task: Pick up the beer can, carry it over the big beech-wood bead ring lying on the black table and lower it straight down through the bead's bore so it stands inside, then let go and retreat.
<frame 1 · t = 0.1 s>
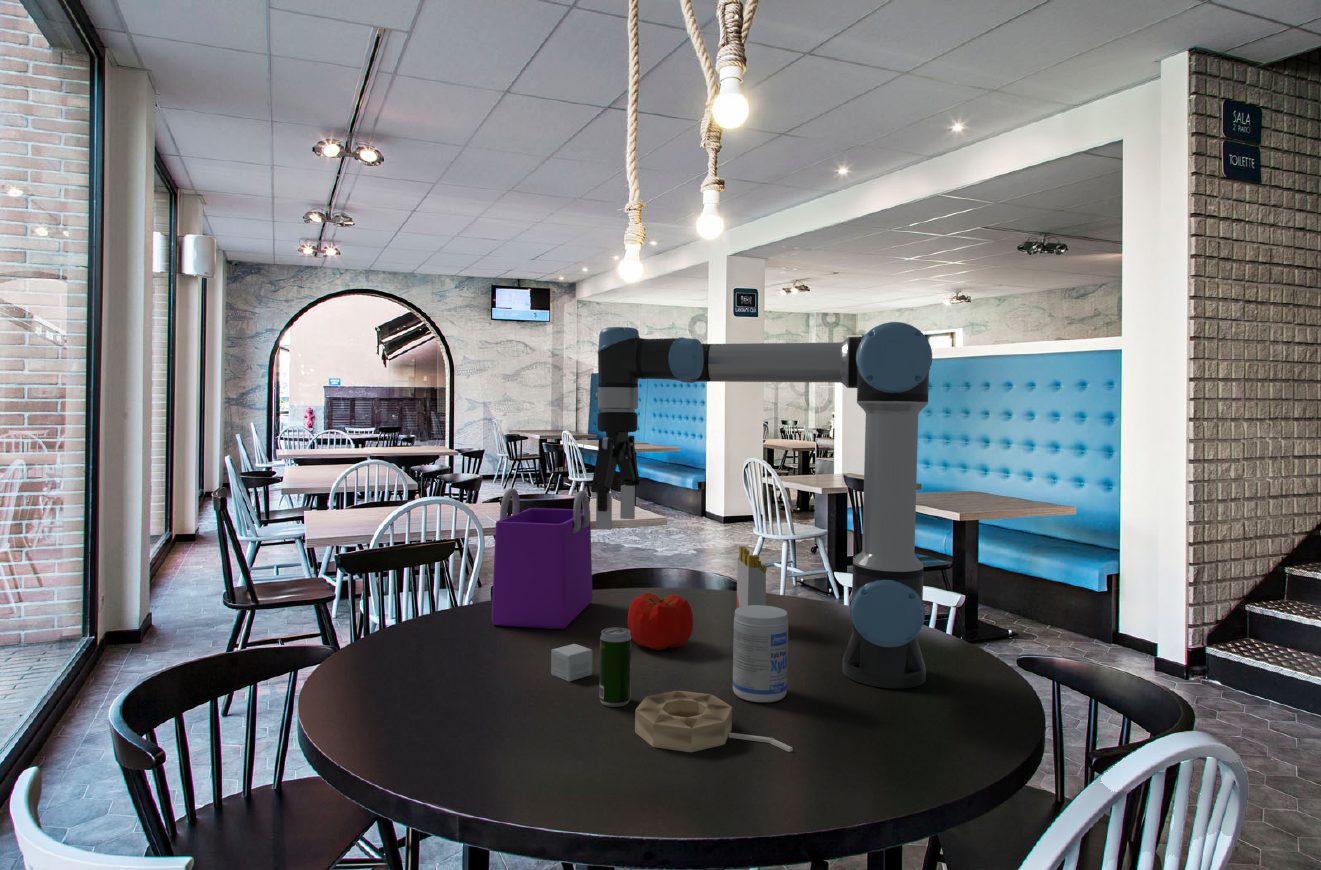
hand: (616, 523, 146), 28 cm above the table, fingers open, 13 cm apart
beer can: (615, 702, 132), on the table
shopping bag: (544, 614, 186), on the table
small box: (571, 676, 145), on the table
tomato: (660, 646, 163), on the table
bead ring: (683, 730, 120), on the table
supplement tub: (759, 695, 136), on the table
drinking straw: (751, 739, 117), on the table
french fries container: (751, 627, 178), on the table
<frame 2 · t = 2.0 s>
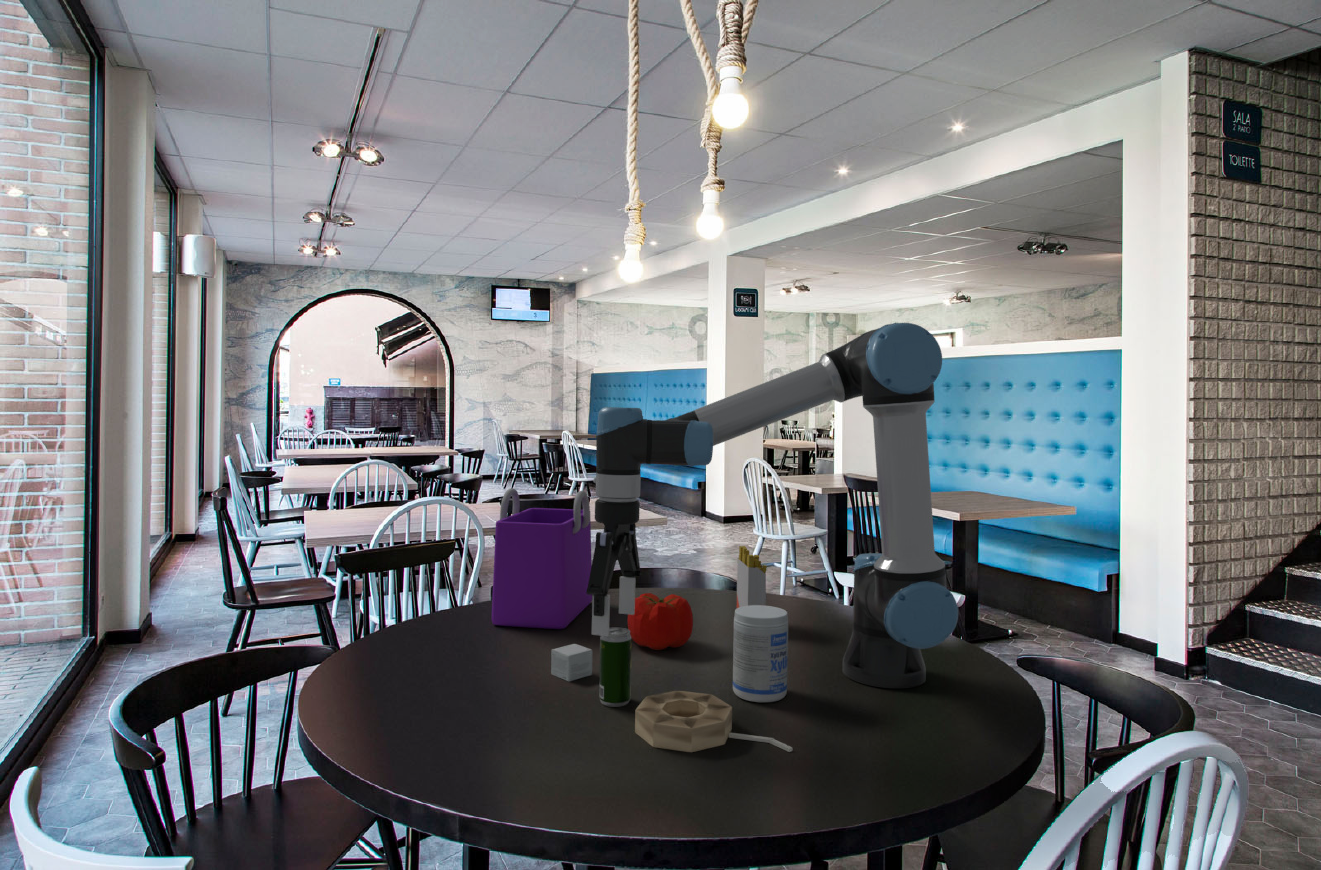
hand: (614, 623, 131), 13 cm above the table, fingers open, 13 cm apart
nothing on the table moved.
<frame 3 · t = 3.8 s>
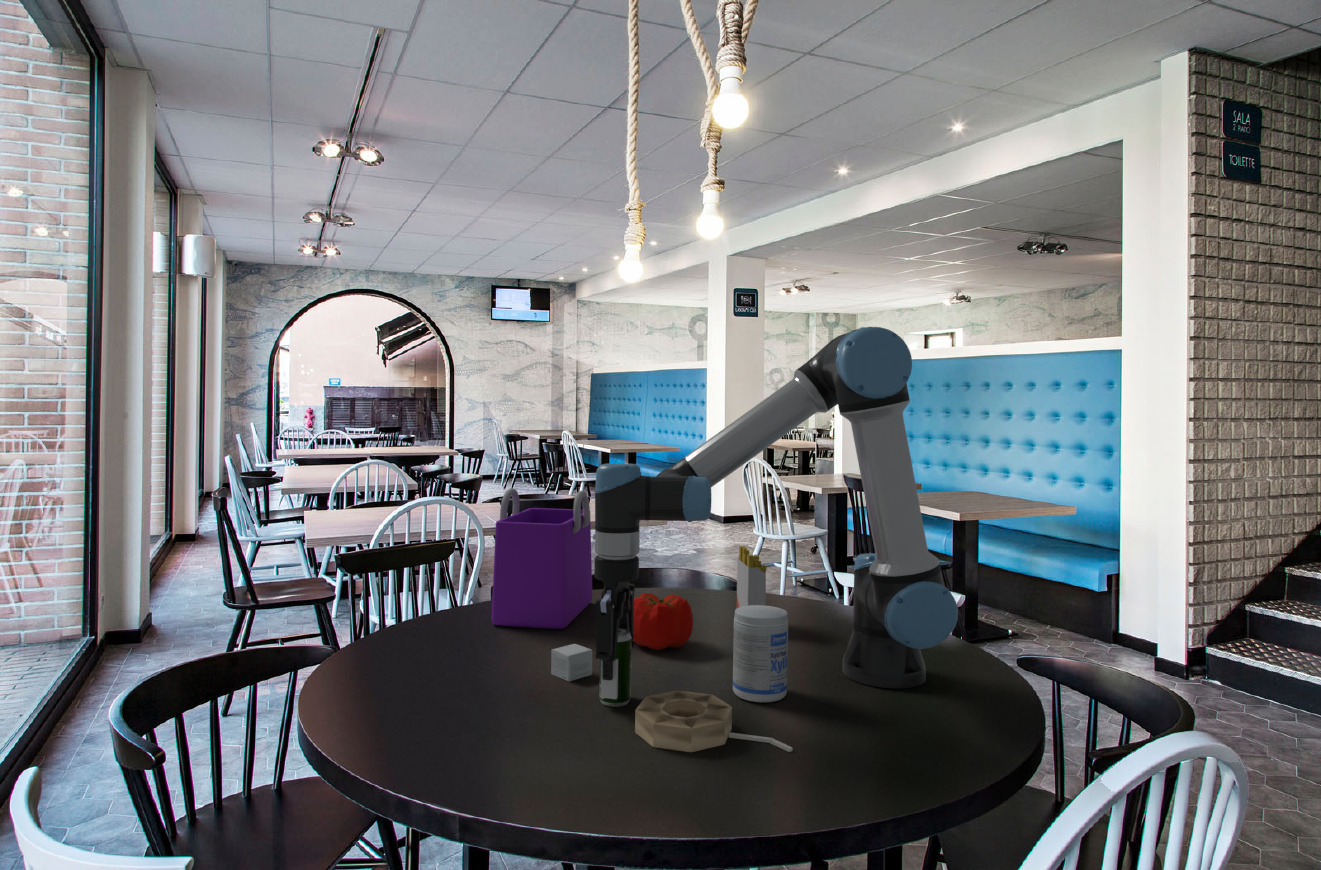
hand: (615, 690, 132), 2 cm above the table, fingers closed on beer can, 5 cm apart
beer can: (615, 702, 132), on the table, touching gripper
everything else where it was.
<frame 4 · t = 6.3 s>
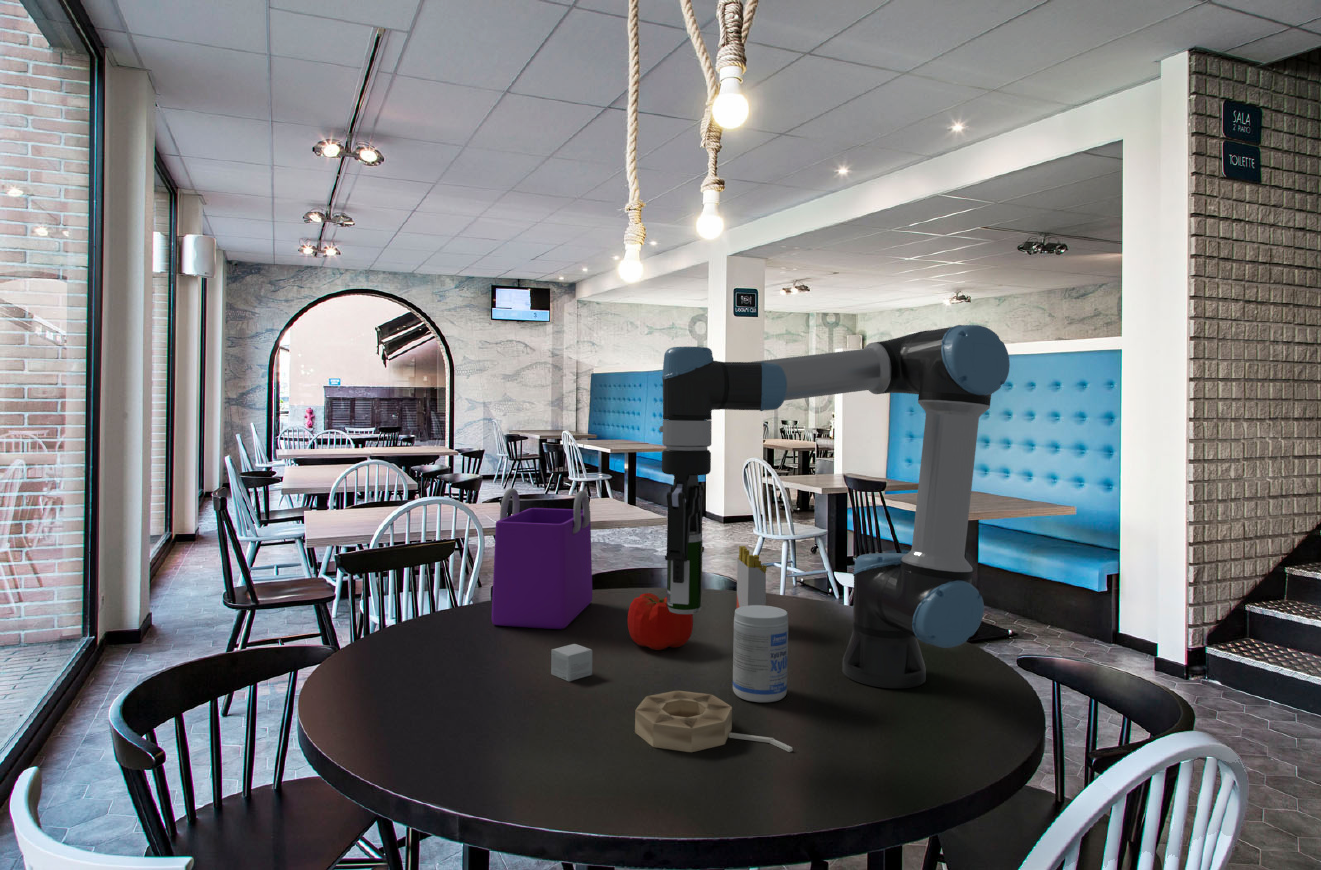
hand: (684, 598, 120), 21 cm above the table, fingers closed on beer can, 5 cm apart
beer can: (684, 611, 120), point 19 cm above the table, touching gripper
everything else where it was.
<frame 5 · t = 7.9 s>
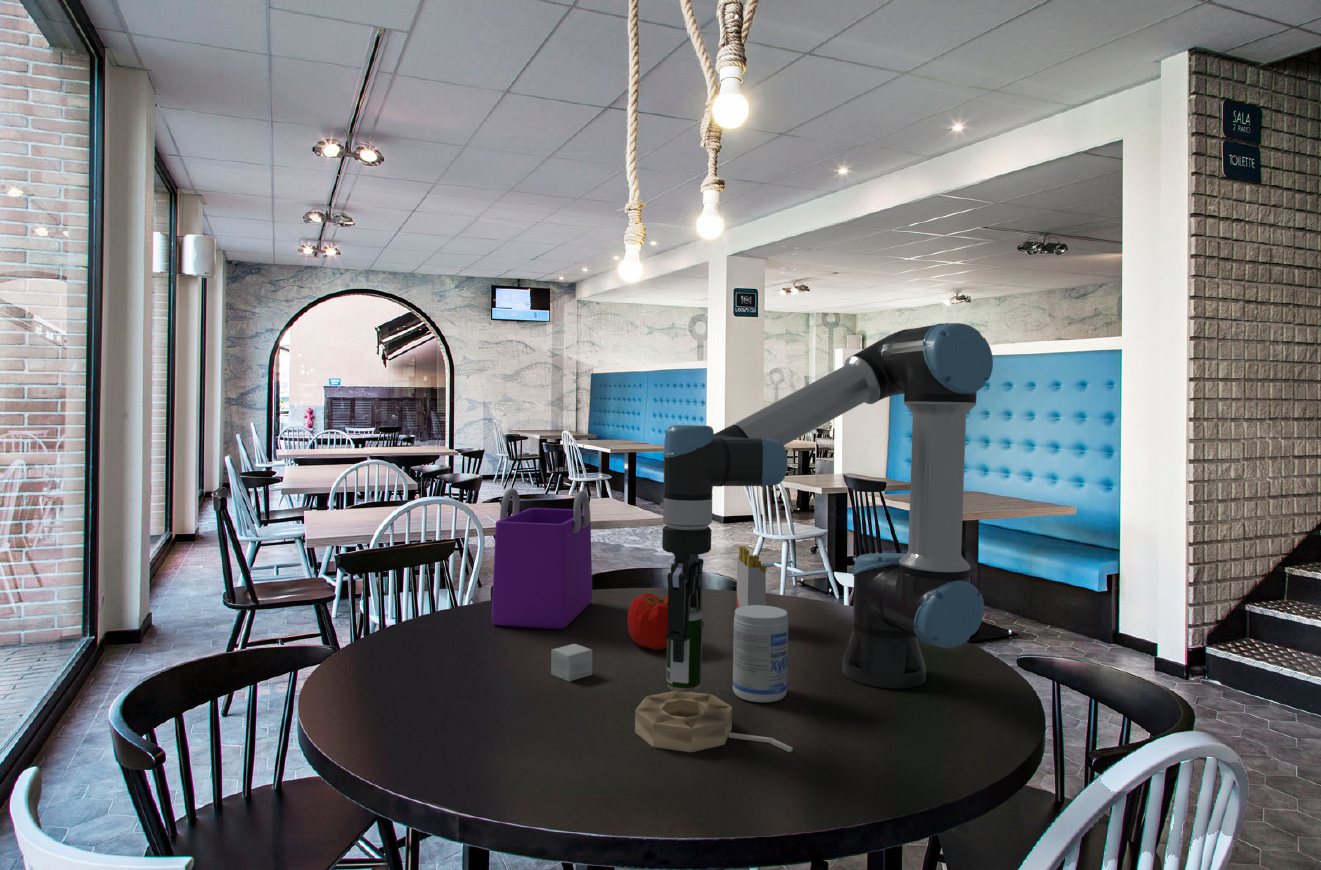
hand: (684, 674, 120), 9 cm above the table, fingers closed on beer can, 5 cm apart
beer can: (683, 687, 120), point 7 cm above the table, touching gripper
everything else where it was.
when the fingers open (5 cm above the table, at t = 9.0 s): beer can drops 3 cm, resting in bead ring.
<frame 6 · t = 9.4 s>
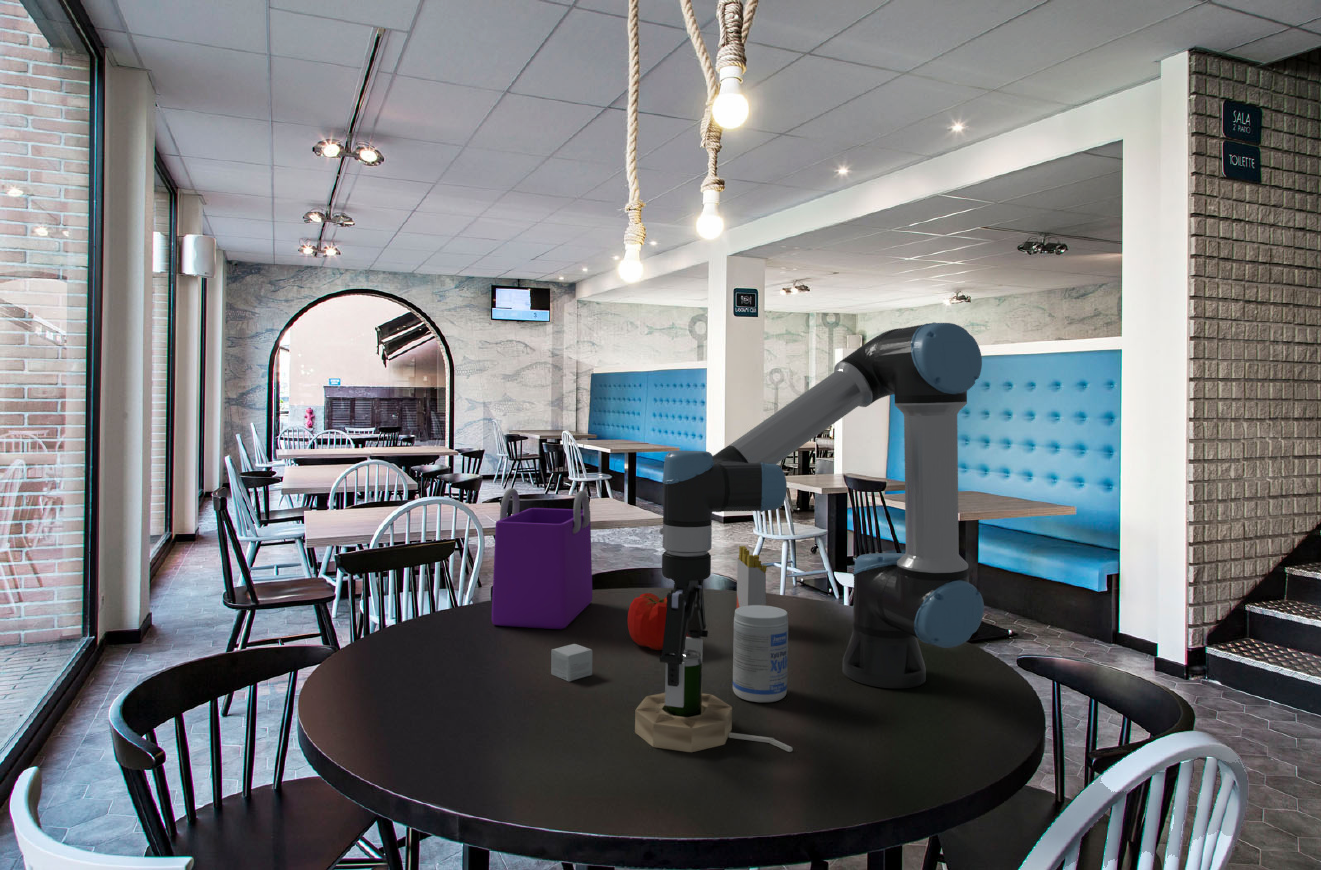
hand: (684, 691, 120), 6 cm above the table, fingers open, 11 cm apart
beer can: (683, 731, 120), resting in bead ring
everything else where it was.
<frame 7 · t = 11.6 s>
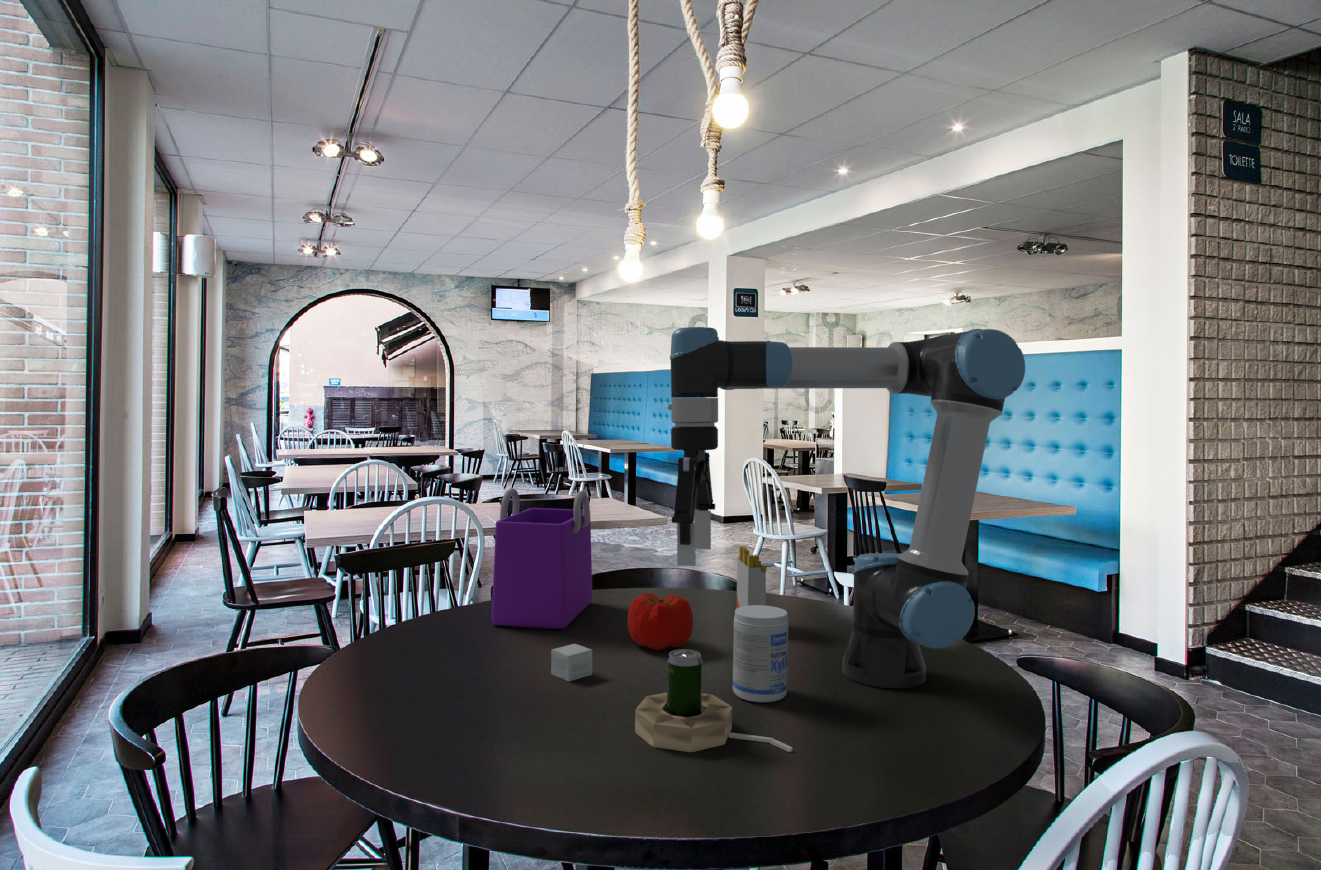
hand: (695, 556, 125), 26 cm above the table, fingers open, 13 cm apart
nothing on the table moved.
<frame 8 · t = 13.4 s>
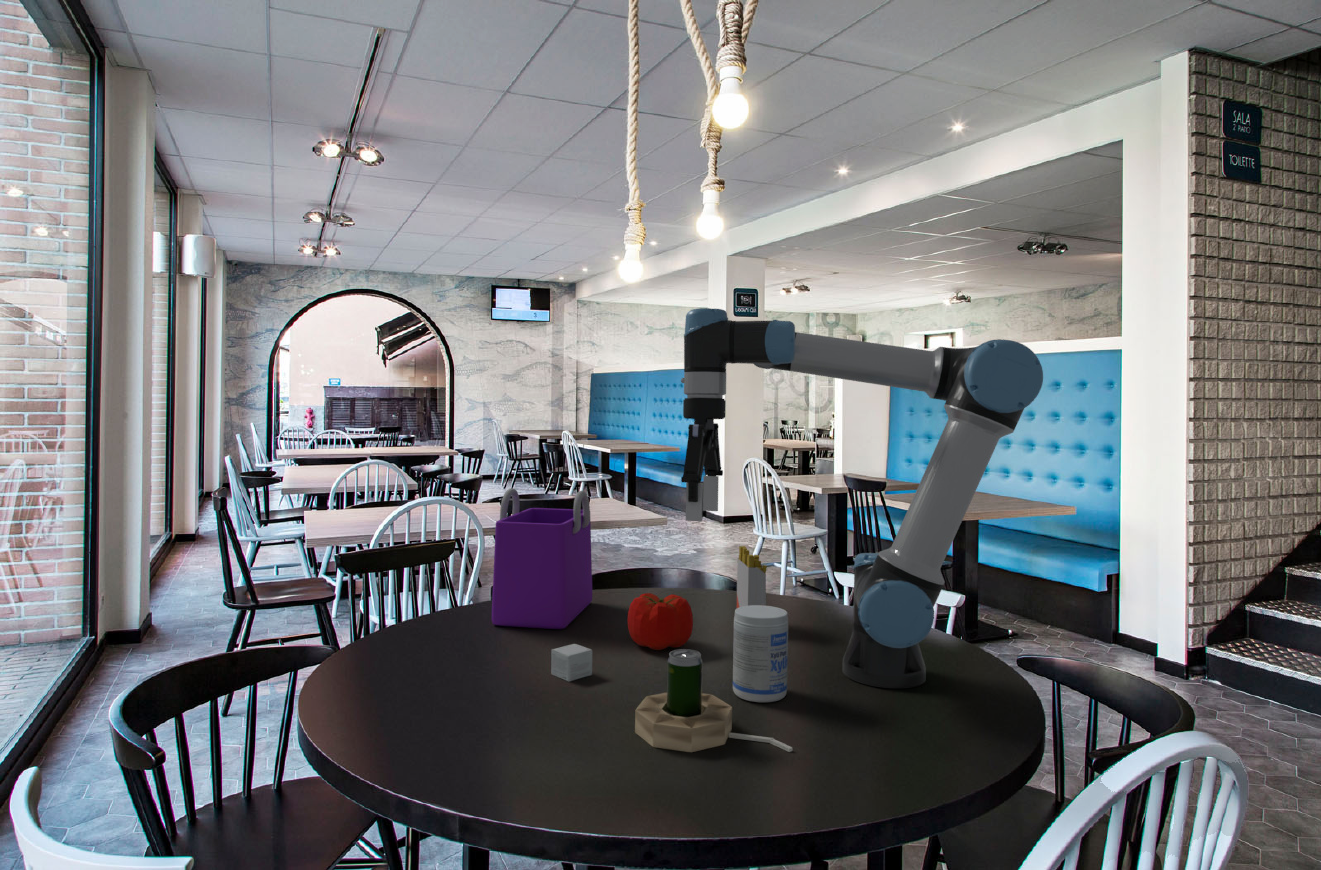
hand: (702, 515, 139), 31 cm above the table, fingers open, 13 cm apart
nothing on the table moved.
at the end: beer can 0.0 cm off-centre on the bead ring, point 0.0 cm above the bead ring's base; beer can tilted 0°; the gripper is holding nothing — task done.
